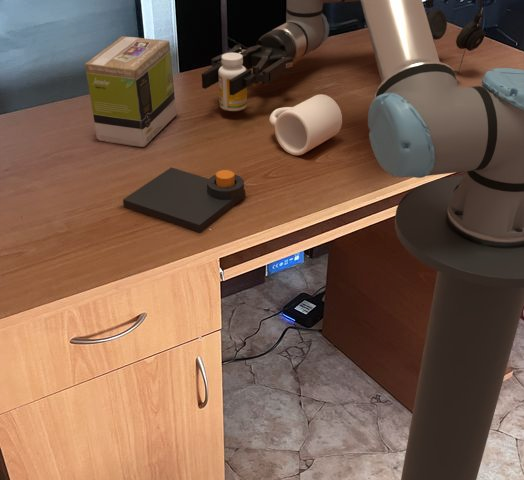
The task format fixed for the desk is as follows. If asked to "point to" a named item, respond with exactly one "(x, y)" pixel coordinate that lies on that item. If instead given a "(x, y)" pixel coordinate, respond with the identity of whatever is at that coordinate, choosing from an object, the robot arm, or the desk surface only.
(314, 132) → the mug
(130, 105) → the tea box
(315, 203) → the desk surface
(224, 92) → the supplement bottle
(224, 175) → the tare button
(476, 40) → the headphones
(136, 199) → the dark grey flat block
